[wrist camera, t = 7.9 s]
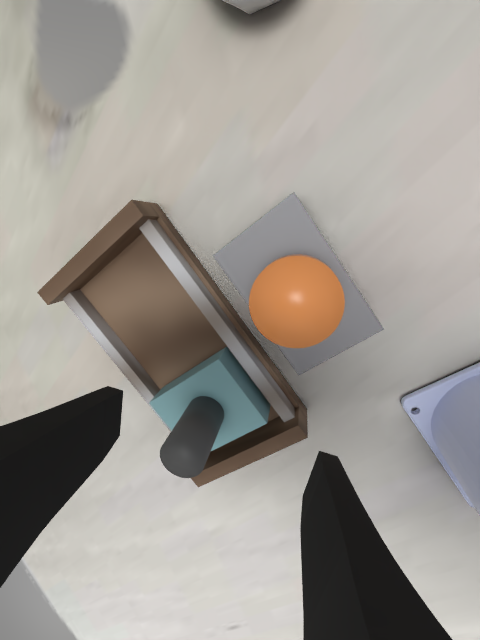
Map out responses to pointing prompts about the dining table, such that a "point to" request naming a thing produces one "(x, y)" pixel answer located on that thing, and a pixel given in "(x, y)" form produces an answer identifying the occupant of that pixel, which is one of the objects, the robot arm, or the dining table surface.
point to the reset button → (296, 301)
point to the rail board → (170, 324)
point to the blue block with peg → (207, 412)
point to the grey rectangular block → (287, 239)
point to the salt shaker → (250, 4)
